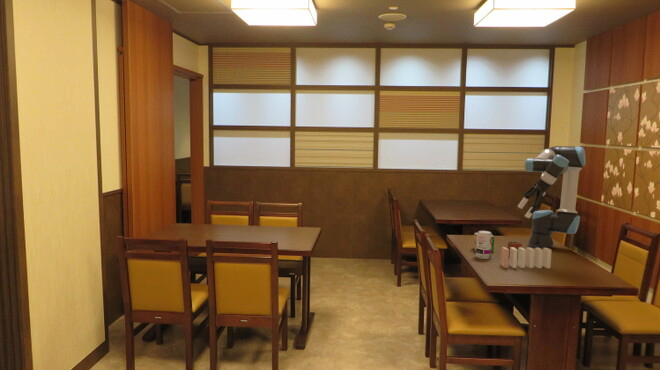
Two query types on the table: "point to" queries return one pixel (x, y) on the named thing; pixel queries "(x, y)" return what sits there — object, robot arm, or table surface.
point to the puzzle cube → (476, 242)
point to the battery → (515, 245)
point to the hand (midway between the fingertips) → (523, 212)
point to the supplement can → (484, 244)
